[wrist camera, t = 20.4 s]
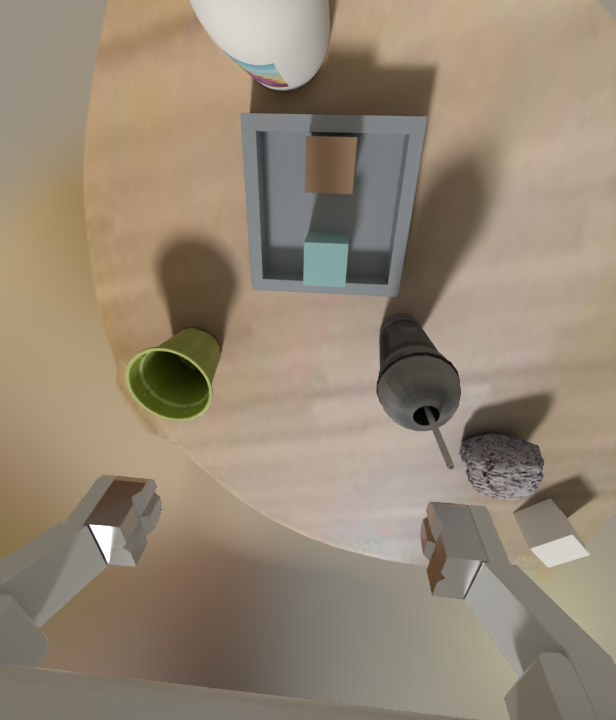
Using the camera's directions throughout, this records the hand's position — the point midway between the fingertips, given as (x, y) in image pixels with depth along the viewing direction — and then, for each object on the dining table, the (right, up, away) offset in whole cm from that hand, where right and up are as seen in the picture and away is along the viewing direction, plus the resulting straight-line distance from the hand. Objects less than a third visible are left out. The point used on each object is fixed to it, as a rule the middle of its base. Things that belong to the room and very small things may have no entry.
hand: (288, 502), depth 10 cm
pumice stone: (+26, -8, +39) cm, 47 cm away
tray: (+3, +19, +25) cm, 31 cm away
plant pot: (-14, +6, +34) cm, 38 cm away
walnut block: (+3, +22, +22) cm, 32 cm away
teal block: (+3, +16, +26) cm, 31 cm away
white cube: (+38, -20, +45) cm, 62 cm away
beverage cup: (+11, +8, +31) cm, 34 cm away
